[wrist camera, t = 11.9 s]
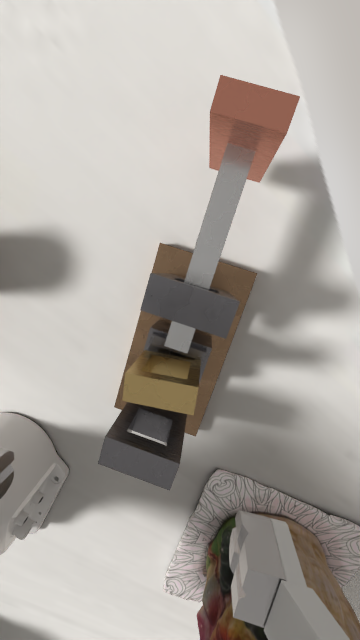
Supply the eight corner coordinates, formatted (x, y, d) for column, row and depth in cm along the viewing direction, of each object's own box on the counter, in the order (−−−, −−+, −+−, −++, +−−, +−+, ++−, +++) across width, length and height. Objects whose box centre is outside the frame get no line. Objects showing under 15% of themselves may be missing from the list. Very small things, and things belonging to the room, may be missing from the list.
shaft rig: (196, 429, 34) (189, 517, 21) (118, 401, 34) (68, 471, 22) (254, 273, 29) (289, 272, 17) (162, 244, 29) (129, 222, 17)
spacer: (197, 382, 25) (193, 415, 19) (142, 371, 25) (122, 400, 19) (200, 360, 24) (198, 387, 18) (144, 349, 25) (125, 373, 19)
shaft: (203, 342, 26) (201, 371, 18) (160, 328, 26) (140, 351, 18) (267, 160, 22) (300, 96, 14) (216, 145, 22) (220, 75, 14)
